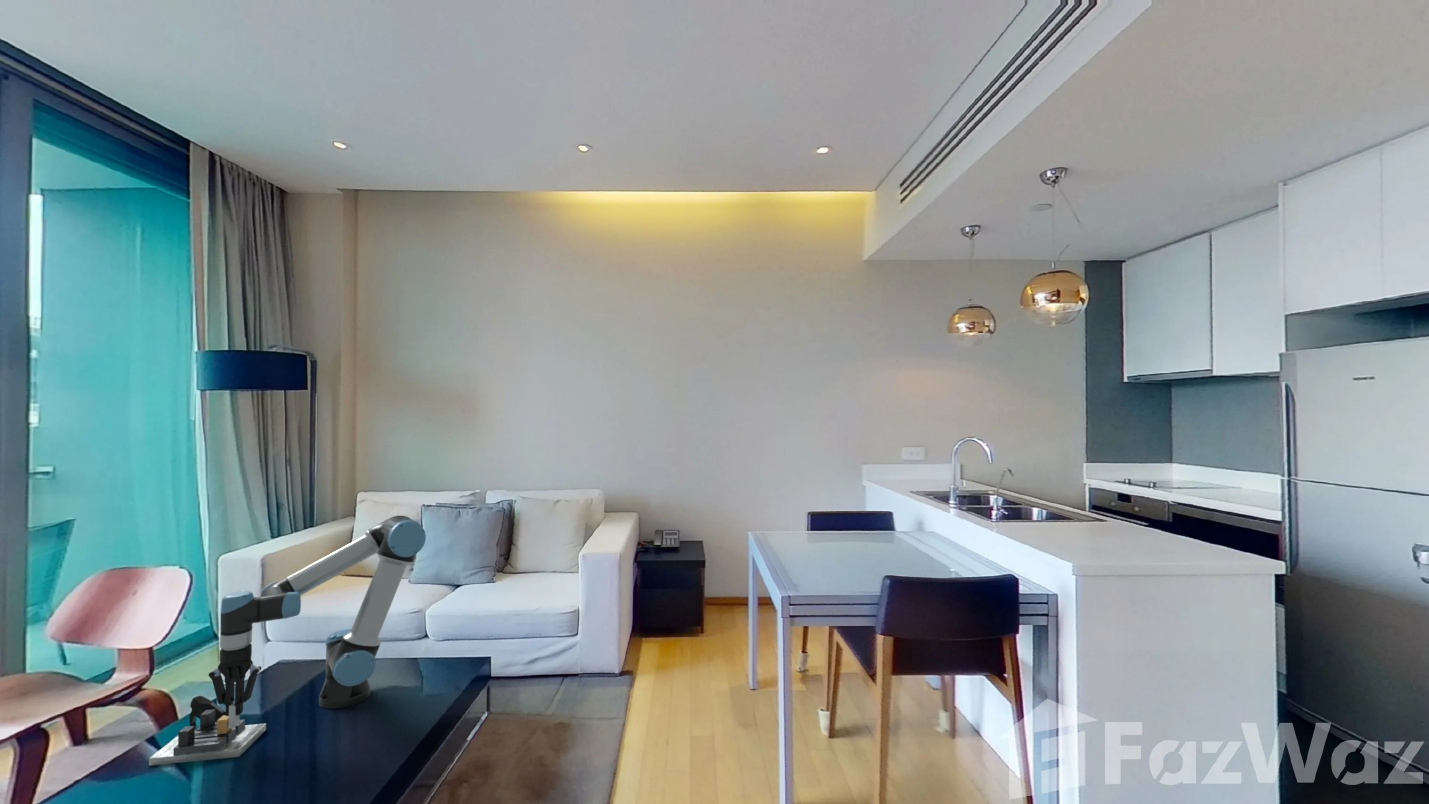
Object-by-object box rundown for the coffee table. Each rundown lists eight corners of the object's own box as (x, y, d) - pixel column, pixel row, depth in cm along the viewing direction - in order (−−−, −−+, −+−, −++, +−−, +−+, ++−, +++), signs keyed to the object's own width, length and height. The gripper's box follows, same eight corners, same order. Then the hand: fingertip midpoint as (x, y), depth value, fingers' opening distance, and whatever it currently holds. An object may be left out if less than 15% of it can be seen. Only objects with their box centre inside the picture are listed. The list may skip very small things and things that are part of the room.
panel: (265, 729, 189) (266, 703, 189) (239, 756, 174) (239, 728, 174) (183, 737, 184) (184, 710, 184) (149, 765, 169) (149, 736, 169)
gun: (217, 750, 187) (230, 722, 186) (179, 721, 190) (192, 693, 189) (226, 745, 190) (239, 718, 189) (189, 716, 193) (202, 689, 192)
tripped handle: (232, 728, 181) (232, 714, 182) (226, 733, 179) (226, 719, 179) (222, 728, 181) (223, 715, 181) (216, 734, 178) (217, 720, 178)
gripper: (267, 639, 186) (265, 717, 185) (218, 642, 183) (215, 721, 182) (254, 648, 178) (252, 730, 178) (203, 652, 176) (200, 734, 175)
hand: (233, 725), depth 180 cm, fingers closed
